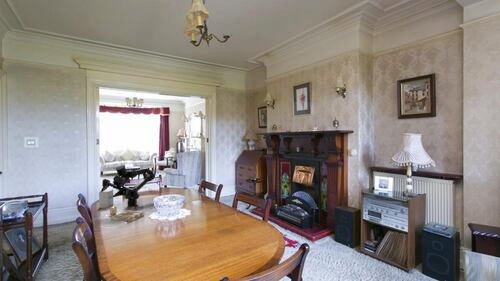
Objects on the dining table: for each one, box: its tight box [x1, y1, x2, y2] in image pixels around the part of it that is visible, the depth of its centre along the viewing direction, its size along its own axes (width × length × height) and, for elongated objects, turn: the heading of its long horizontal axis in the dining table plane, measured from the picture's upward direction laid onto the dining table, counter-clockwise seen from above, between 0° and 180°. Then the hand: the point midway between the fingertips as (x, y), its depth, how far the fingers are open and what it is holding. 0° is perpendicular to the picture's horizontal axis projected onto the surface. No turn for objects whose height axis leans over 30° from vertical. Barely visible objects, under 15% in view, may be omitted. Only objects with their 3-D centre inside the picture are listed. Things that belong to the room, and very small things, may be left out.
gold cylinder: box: [109, 205, 118, 215], centre depth 171 cm, size 4×4×5 cm
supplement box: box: [98, 189, 114, 209], centre depth 194 cm, size 7×7×13 cm
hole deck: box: [110, 210, 145, 223], centre depth 166 cm, size 14×14×3 cm
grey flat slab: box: [104, 211, 122, 217], centre depth 171 cm, size 9×7×1 cm
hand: (106, 194), depth 169 cm, fingers open, 9 cm apart
